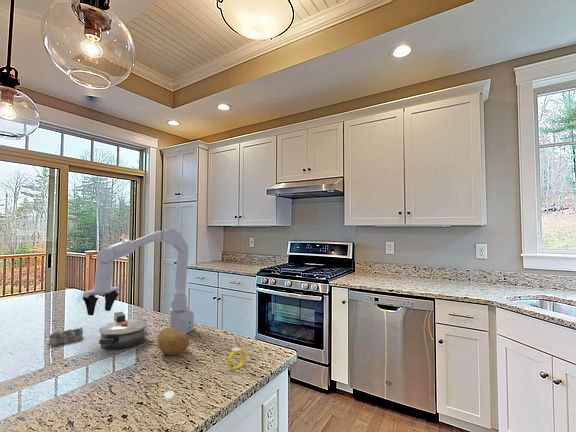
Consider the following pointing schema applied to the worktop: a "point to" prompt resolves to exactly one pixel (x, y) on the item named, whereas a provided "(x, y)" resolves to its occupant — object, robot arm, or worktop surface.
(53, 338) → the egg carton
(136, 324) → the lid
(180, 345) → the potato
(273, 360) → the worktop surface
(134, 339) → the cooker pot
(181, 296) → the robot arm
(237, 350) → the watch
